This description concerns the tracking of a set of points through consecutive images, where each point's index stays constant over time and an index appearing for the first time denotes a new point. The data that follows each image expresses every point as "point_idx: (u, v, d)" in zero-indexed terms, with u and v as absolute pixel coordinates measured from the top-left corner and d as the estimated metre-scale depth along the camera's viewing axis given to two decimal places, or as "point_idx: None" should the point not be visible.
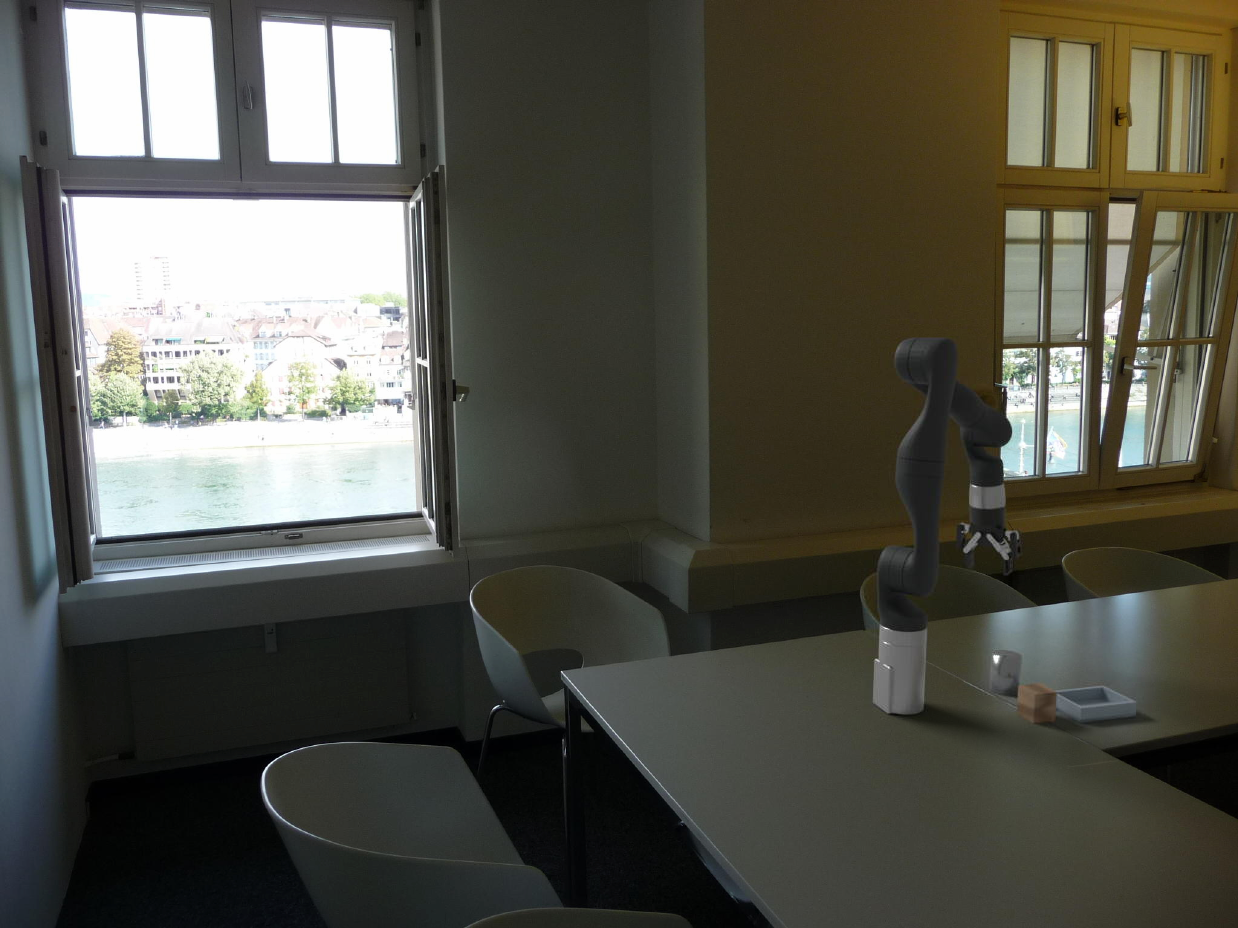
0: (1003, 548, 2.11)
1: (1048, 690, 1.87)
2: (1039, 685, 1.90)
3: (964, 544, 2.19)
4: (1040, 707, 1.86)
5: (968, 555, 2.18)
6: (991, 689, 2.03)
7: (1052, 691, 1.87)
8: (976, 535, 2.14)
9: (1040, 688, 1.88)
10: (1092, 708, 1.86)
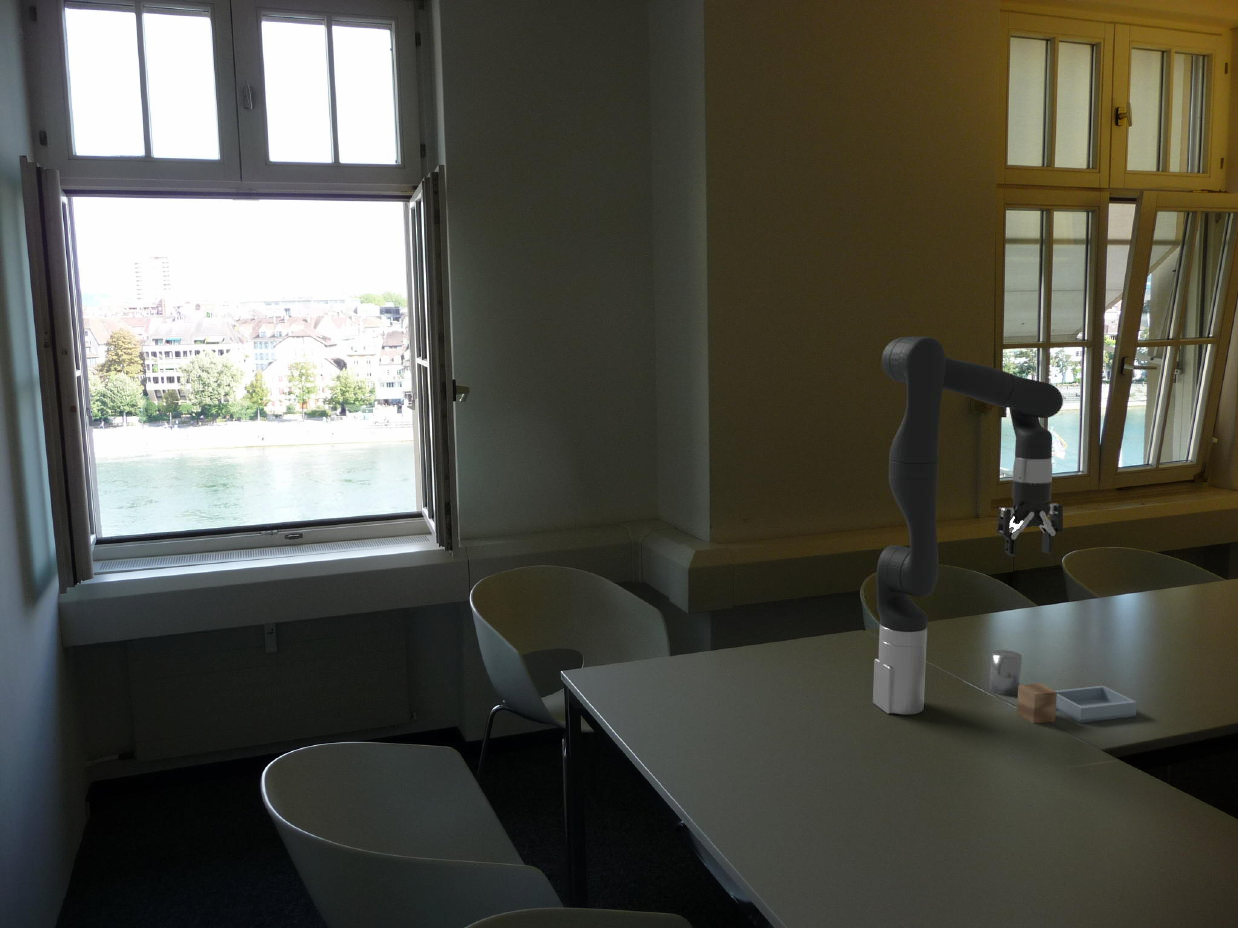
0: None
1: (1048, 690, 1.87)
2: (1039, 685, 1.90)
3: None
4: (1040, 707, 1.86)
5: (1015, 541, 1.98)
6: (991, 689, 2.03)
7: (1052, 691, 1.87)
8: (1029, 515, 1.97)
9: (1040, 688, 1.88)
10: (1092, 708, 1.86)
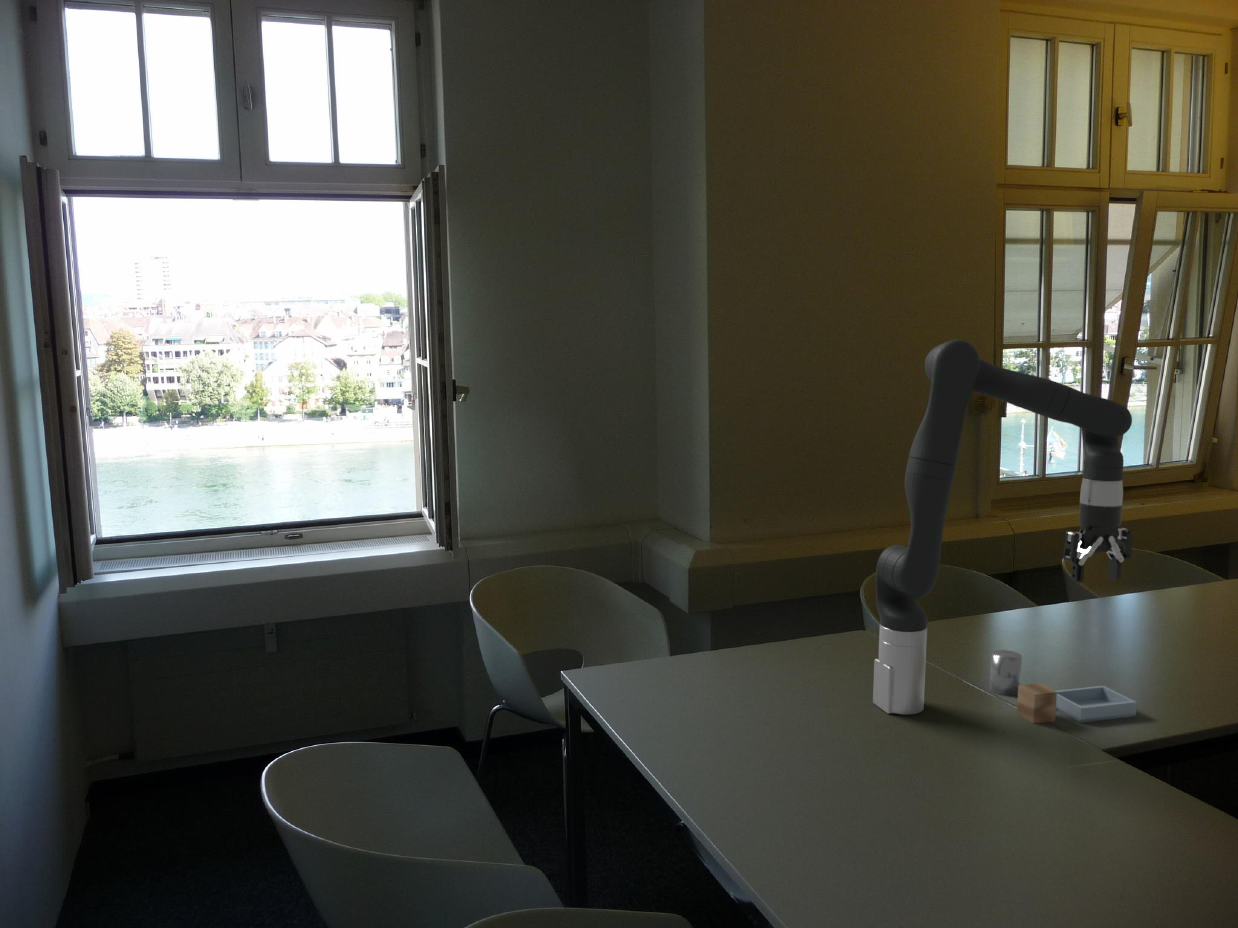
0: None
1: (1048, 690, 1.87)
2: (1039, 685, 1.90)
3: None
4: (1040, 707, 1.86)
5: (1083, 567, 1.88)
6: (991, 689, 2.03)
7: (1052, 691, 1.87)
8: (1098, 540, 1.87)
9: (1040, 688, 1.88)
10: (1092, 708, 1.86)
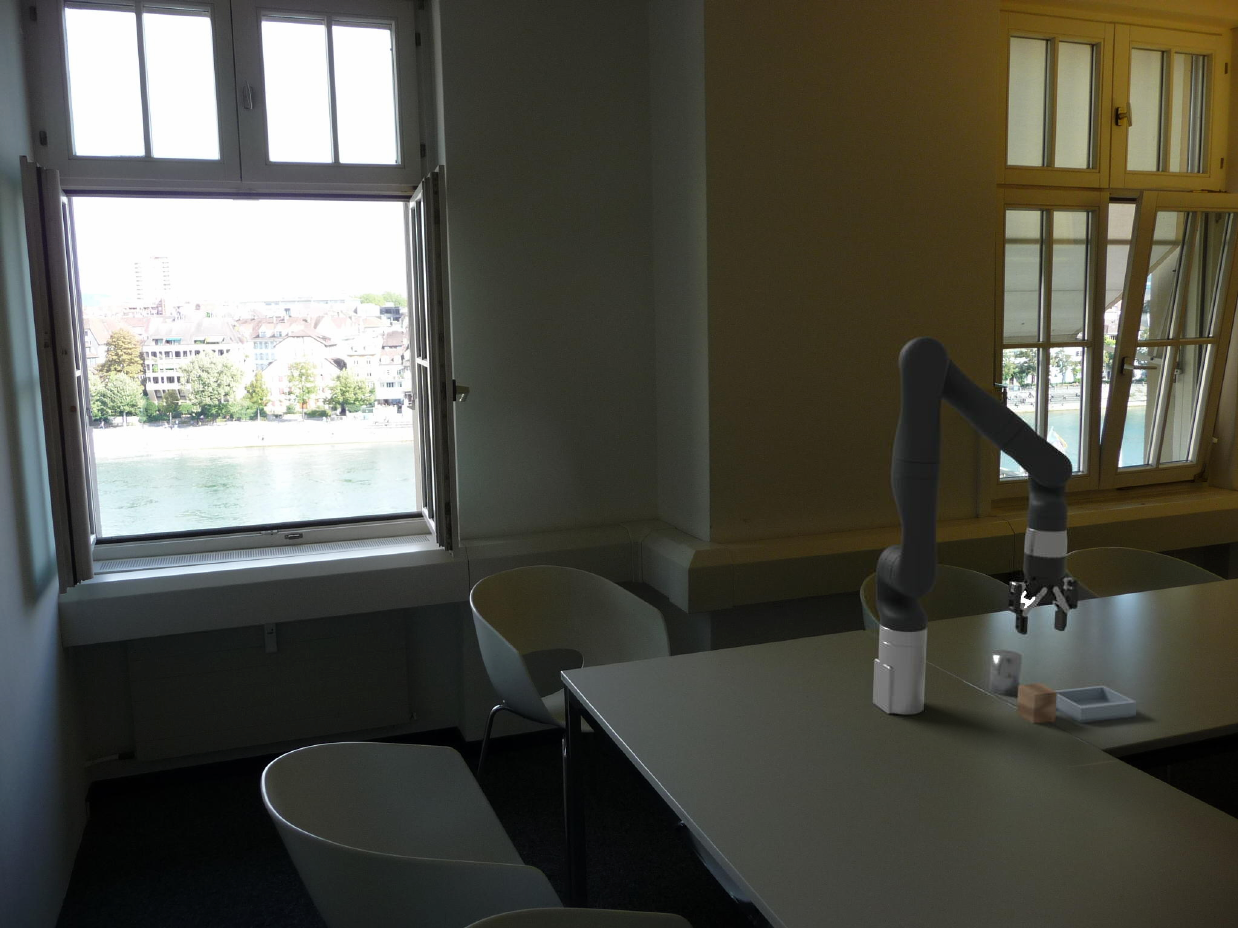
0: None
1: (1048, 690, 1.87)
2: (1039, 685, 1.90)
3: None
4: (1040, 707, 1.86)
5: (1026, 618, 1.84)
6: (991, 689, 2.03)
7: (1052, 691, 1.87)
8: (1042, 591, 1.83)
9: (1040, 688, 1.88)
10: (1092, 708, 1.86)
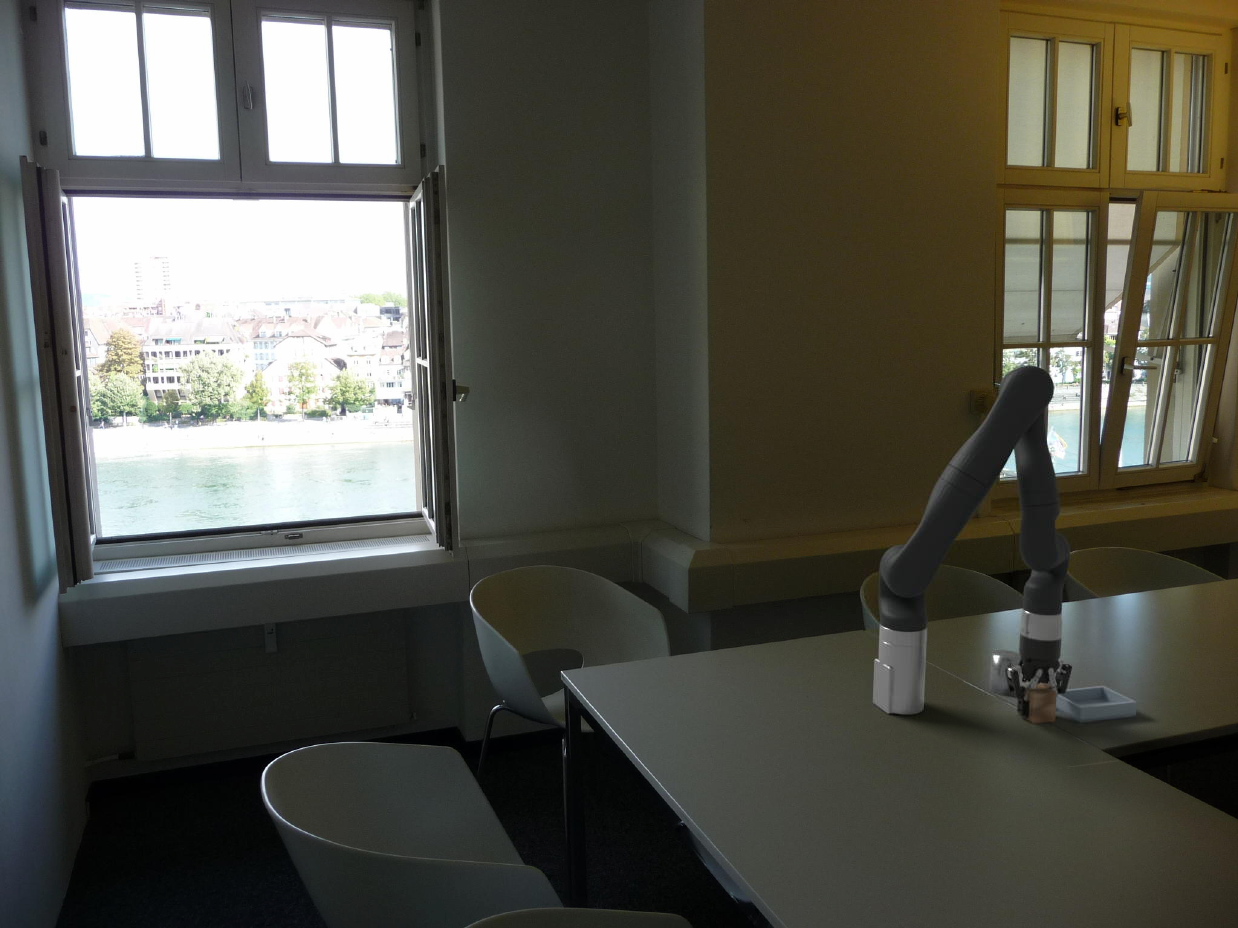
0: None
1: (1048, 690, 1.87)
2: (1039, 685, 1.90)
3: None
4: (1040, 707, 1.86)
5: (1028, 702, 1.87)
6: (991, 689, 2.03)
7: (1052, 691, 1.87)
8: (1038, 673, 1.85)
9: (1040, 687, 1.88)
10: (1092, 708, 1.86)
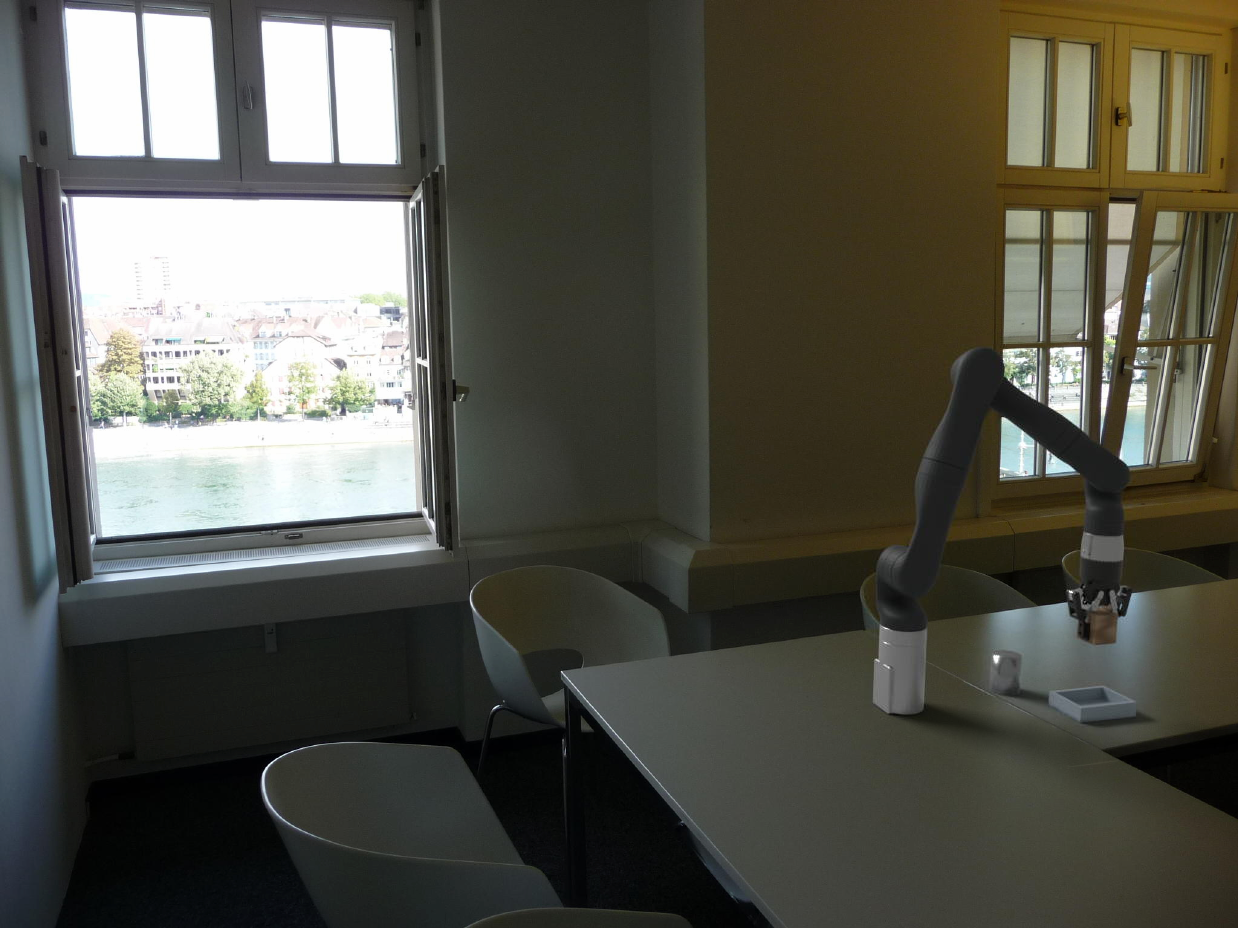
0: None
1: (1109, 612, 1.88)
2: (1099, 609, 1.91)
3: None
4: (1102, 629, 1.87)
5: (1089, 625, 1.88)
6: (991, 689, 2.03)
7: (1113, 613, 1.88)
8: (1099, 595, 1.86)
9: (1100, 610, 1.89)
10: (1092, 708, 1.86)
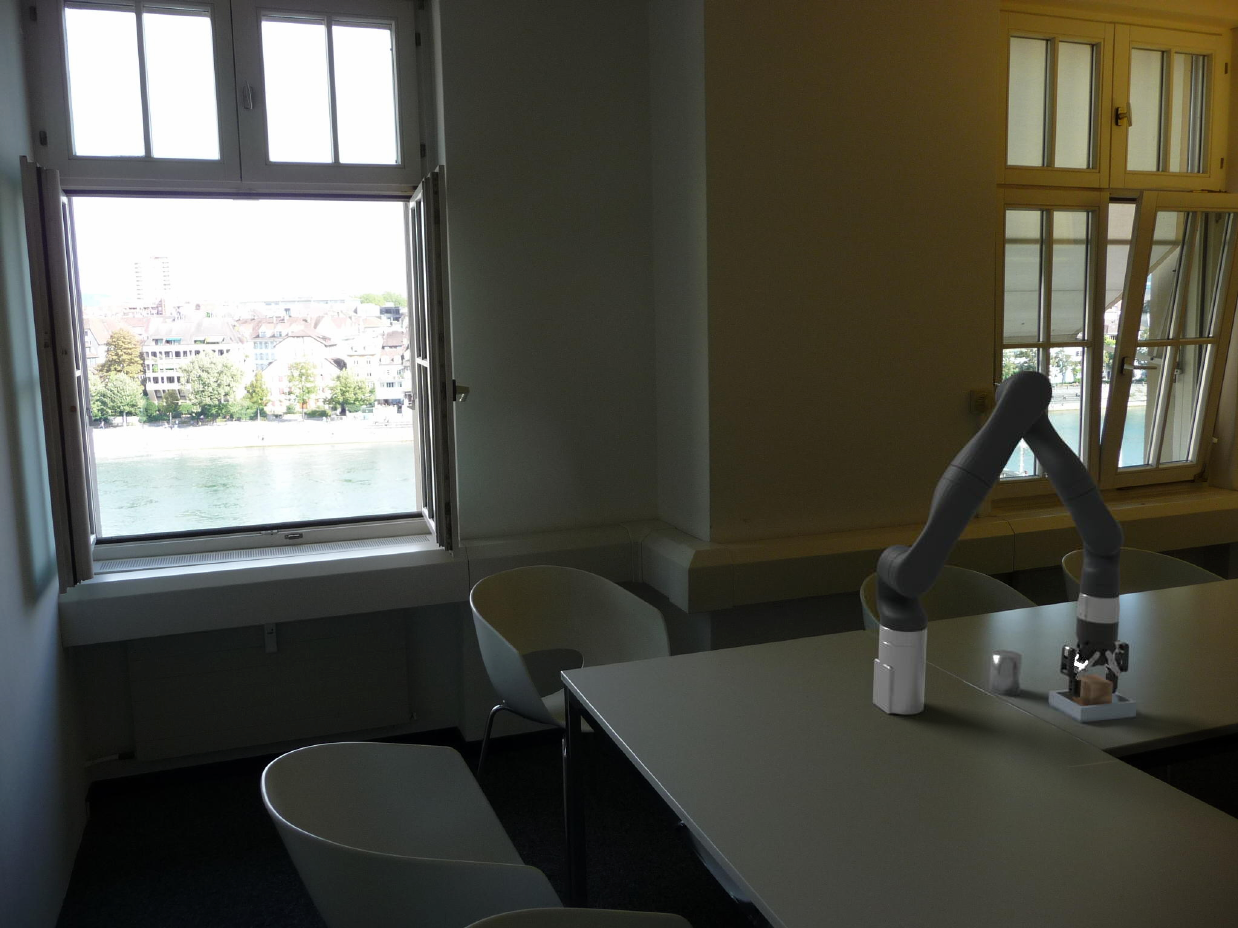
0: None
1: (1104, 681, 1.90)
2: (1095, 676, 1.93)
3: None
4: (1097, 698, 1.89)
5: (1080, 682, 1.89)
6: (991, 689, 2.03)
7: (1108, 682, 1.89)
8: (1095, 655, 1.88)
9: (1095, 678, 1.91)
10: (1092, 708, 1.86)
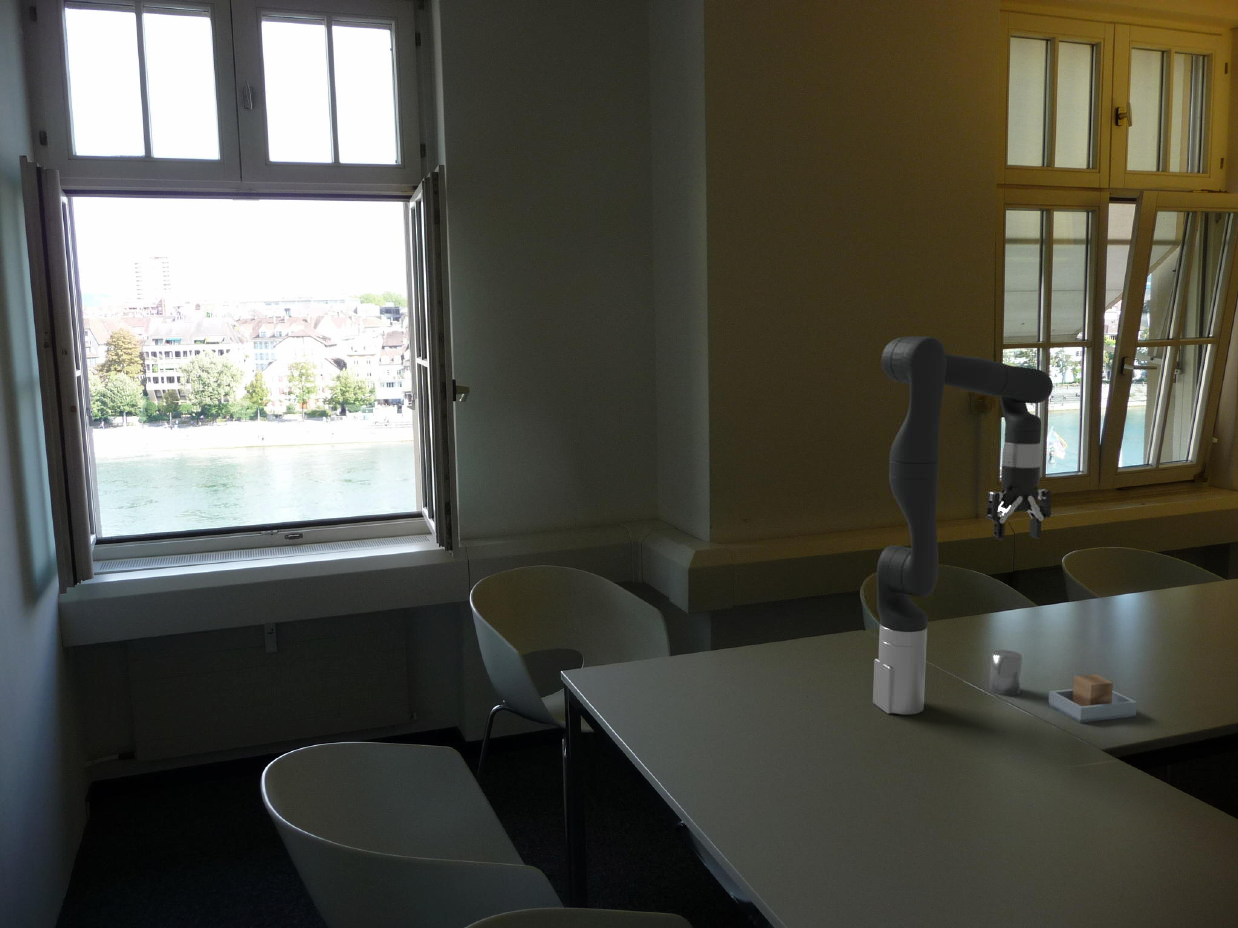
0: None
1: (1104, 681, 1.90)
2: (1095, 676, 1.93)
3: None
4: (1097, 698, 1.89)
5: (1004, 525, 2.01)
6: (991, 689, 2.03)
7: (1108, 682, 1.89)
8: (1018, 500, 2.00)
9: (1095, 678, 1.91)
10: (1092, 708, 1.86)
